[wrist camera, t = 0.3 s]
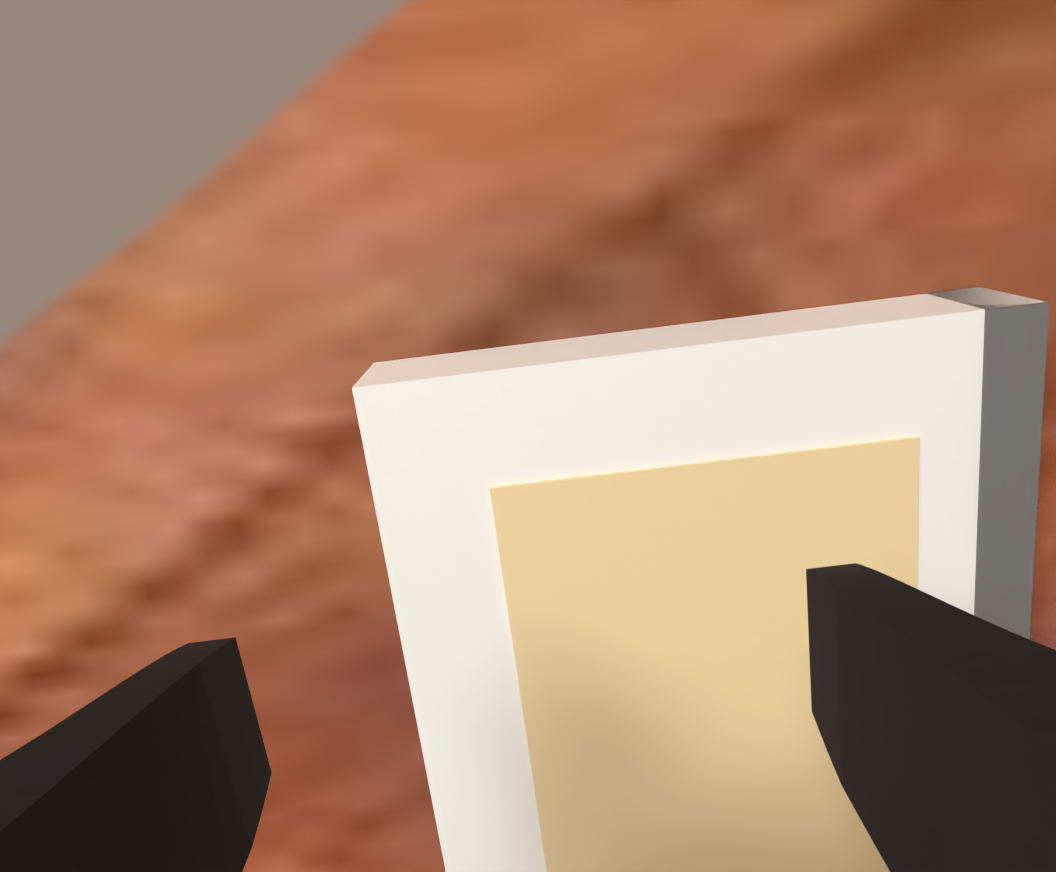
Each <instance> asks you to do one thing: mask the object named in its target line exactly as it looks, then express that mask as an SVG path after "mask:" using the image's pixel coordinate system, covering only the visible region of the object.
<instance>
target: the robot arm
mask: <svg viewBox="0 0 1056 872" xmlns="http://www.w3.org/2000/svg"><path fill="white" fill-rule="evenodd" d="M806 582H807V607H808V631H809V656H810V681H811V706H812V713H813V716H814V719H815V721H816V724H817V726H818V729H819V731H820V734H821V737H822V739H823V742H824V744H825V747H826V749H827V752H828V754H829V757H830V759H831V761H832V764H833V766H834V769H835V771H836V773H837V776H838V778H839V780H840V783H841V785H842V787H843V789H844V790H845V792H846V794H847V796H848V798H849V800H850V802H851V803H852V805H853V807H854V809H855V811H856V812H857V814H858V816H859V818H860V819H861V821H862V823H863V825H864V827H865V828H866V830H867V832H868V834H869V836H870V837H871V839H872V841H873V843H874V844H875V846H876V848H877V850H878V852H879V853H880V855H881V857H882V859H883V860H884V862H885V864H886V866H887V867H888V869H889V871H890V872H1056V650H1054V649H1051V648H1049V647H1046V646H1044V645H1041V644H1038V643H1036V642H1034V641H1031V640H1029V639H1027V638H1024V637H1022V636H1020V635H1017V634H1015V633H1013V632H1010V631H1008V630H1006V629H1003V628H1001V627H999V626H997V625H994V624H992V623H990V622H988V621H985V620H983V619H981V618H979V617H977V616H974V615H972V614H970V613H968V612H966V611H963V610H961V609H959V608H957V607H955V606H953V605H950V604H948V603H946V602H944V601H942V600H940V599H938V598H935V597H933V596H931V595H929V594H927V593H925V592H923V591H921V590H918V589H916V588H914V587H912V586H910V585H908V584H906V583H903V582H901V581H899V580H897V579H895V578H892V577H890V576H888V575H886V574H883V573H881V572H879V571H876V570H874V569H871V568H869V567H866V566H863V565H860V564H857V563H853V564H844V565H836V566H828V567H819V568H811V569H806ZM270 777H271V769H270V765H269V761H268V758H267V754H266V750H265V746H264V743H263V739H262V735H261V732H260V728H259V724H258V720H257V717H256V713H255V709H254V705H253V702H252V698H251V694H250V690H249V687H248V683H247V679H246V675H245V672H244V668H243V664H242V660H241V657H240V653H239V649H238V645H237V642H236V638H228V639H220V640H211V641H203V642H195V643H188V644H186V645H184V646H182V647H180V648H178V649H176V650H174V651H172V652H170V653H168V654H167V655H165V656H163V657H161V658H160V659H158V660H156V661H155V662H153V663H151V664H150V665H148V666H146V667H145V668H143V669H142V670H140V671H138V672H137V673H135V674H134V675H132V676H131V677H129V678H128V679H126V680H124V681H123V682H121V683H120V684H118V685H117V686H115V687H114V688H112V689H111V690H109V691H108V692H106V693H104V694H103V695H101V696H100V697H98V698H97V699H95V700H94V701H92V702H91V703H89V704H88V705H86V706H85V707H83V708H82V709H80V710H78V711H77V712H75V713H74V714H72V715H71V716H69V717H68V718H66V719H65V720H63V721H62V722H60V723H59V724H57V725H55V726H54V727H52V728H51V729H49V730H48V731H46V732H45V733H43V734H42V735H40V736H38V737H37V738H35V739H34V740H32V741H30V742H29V743H27V744H25V745H24V746H22V747H21V748H19V749H17V750H16V751H14V752H13V753H11V754H9V755H8V756H6V757H4V758H3V759H1V760H0V872H242V871H243V868H244V866H245V863H246V861H247V858H248V856H249V853H250V851H251V848H252V845H253V841H254V838H255V834H256V831H257V827H258V824H259V820H260V817H261V813H262V809H263V805H264V801H265V797H266V793H267V789H268V785H269V781H270Z"/></svg>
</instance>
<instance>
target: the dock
mask: <svg viewBox="0 0 1056 872" xmlns="http://www.w3.org/2000/svg"><path fill="white" fill-rule="evenodd" d="M1048 315H1049V302H1044V301H1040V300H1035V299H1031V298H1026V297H1022V296H1018V295H1013V294H1009V293H1004V292H1000V291H995V290H991V289H986V288H982V287H976V288H968V289H960V290H952V291H944V292H936V293H928V294H920V295H912V296H904V297H896V298H888V299H880V300H872V301H864V302H856V303H848V304H840V305H832V306H824V307H816V308H808V309H800V310H792V311H784V312H776V313H768V314H760V315H752V316H744V317H736V318H728V319H720V320H712V321H704V322H696V323H688V324H680V325H672V326H664V327H656V328H648V329H640V330H632V331H624V332H616V333H608V334H600V335H592V336H584V337H576V338H568V339H560V340H552V341H544V342H536V343H528V344H520V345H512V346H504V347H496V348H488V349H480V350H472V351H464V352H456V353H448V354H440V355H432V356H424V357H416V358H408V359H400V360H392V361H384V362H376V363H373V364H372V366H371V367H370V368H369V369H368V370H367V371H366V372H365V374H364V375H363V376H362V377H361V378H360V379H359V380H358V382H357V383H356V384H355V385H354V386H353V387H352V391H353V396H354V401H355V406H356V411H357V417H358V422H359V427H360V432H361V437H362V442H363V448H364V453H365V458H366V463H367V468H368V473H369V478H370V484H371V489H372V494H373V499H374V504H375V509H376V514H377V520H378V525H379V530H380V535H381V540H382V545H383V551H384V556H385V561H386V566H387V571H388V576H389V581H390V587H391V592H392V597H393V602H394V607H395V612H396V618H397V623H398V628H399V633H400V638H401V643H402V648H403V654H404V659H405V664H406V669H407V674H408V679H409V684H410V690H411V695H412V700H413V705H414V710H415V715H416V721H417V726H418V731H419V736H420V741H421V746H422V751H423V757H424V762H425V767H426V772H427V777H428V782H429V788H430V793H431V798H432V803H433V808H434V813H435V818H436V824H437V829H438V834H439V839H440V844H441V849H442V854H443V860H444V865H445V870H446V872H890V871H889V869H888V867H887V866H886V864H885V862H884V860H883V859H882V857H881V855H880V853H879V852H878V850H877V848H876V846H875V844H874V843H873V841H872V839H871V837H870V836H869V834H868V832H867V830H866V828H865V827H864V825H863V823H862V821H861V819H860V818H859V816H858V814H857V812H856V811H855V809H854V807H853V805H852V803H851V802H850V800H849V798H848V796H847V794H846V792H845V790H844V789H843V787H842V785H841V783H840V780H839V778H838V776H837V773H836V771H835V769H834V766H833V764H832V761H831V759H830V757H829V754H828V752H827V749H826V747H825V744H824V742H823V739H822V737H821V734H820V731H819V729H818V726H817V724H816V721H815V719H814V716H813V713H812V706H811V681H810V656H809V631H808V607H807V582H806V569H811V568H819V567H828V566H836V565H844V564H853V563H857V564H860V565H863V566H866V567H869V568H871V569H874V570H876V571H879V572H881V573H883V574H886V575H888V576H890V577H892V578H895V579H897V580H899V581H901V582H903V583H906V584H908V585H910V586H912V587H914V588H916V589H918V590H921V591H923V592H925V593H927V594H929V595H931V596H933V597H935V598H938V599H940V600H942V601H944V602H946V603H948V604H950V605H953V606H955V607H957V608H959V609H961V610H963V611H966V612H968V613H970V614H972V615H974V616H977V617H979V618H981V619H983V620H985V621H988V622H990V623H992V624H994V625H997V626H999V627H1001V628H1003V629H1006V630H1008V631H1010V632H1013V633H1015V634H1017V635H1020V636H1022V637H1024V638H1027V639H1029V640H1030V623H1031V606H1032V589H1033V572H1034V555H1035V538H1036V521H1037V503H1038V486H1039V469H1040V452H1041V435H1042V418H1043V401H1044V384H1045V367H1046V349H1047V332H1048Z"/></svg>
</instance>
